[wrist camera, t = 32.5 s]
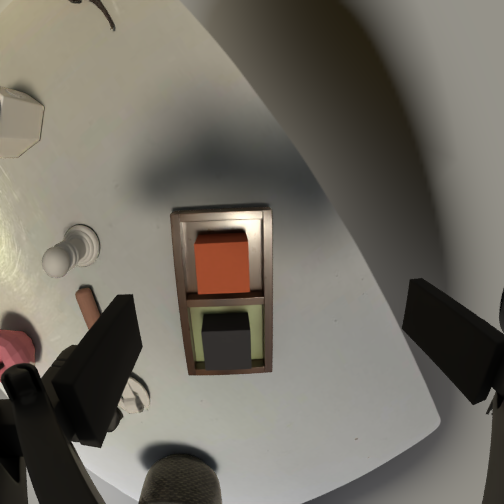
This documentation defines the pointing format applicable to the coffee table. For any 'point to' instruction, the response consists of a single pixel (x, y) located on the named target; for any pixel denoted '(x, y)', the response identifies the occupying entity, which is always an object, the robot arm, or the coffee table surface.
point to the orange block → (222, 263)
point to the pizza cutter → (131, 400)
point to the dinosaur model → (101, 7)
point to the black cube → (226, 341)
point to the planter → (180, 482)
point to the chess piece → (71, 252)
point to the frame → (253, 302)
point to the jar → (18, 122)
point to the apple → (15, 349)
